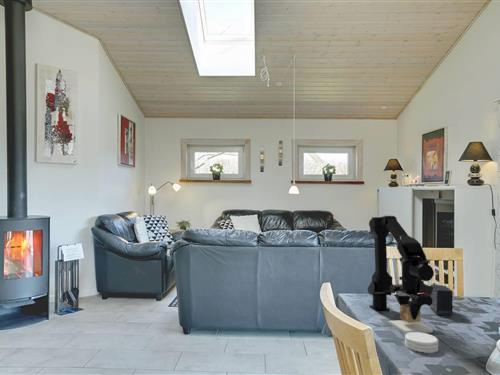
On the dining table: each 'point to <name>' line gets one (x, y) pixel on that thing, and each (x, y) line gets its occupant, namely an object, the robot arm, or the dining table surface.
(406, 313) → the oak cube
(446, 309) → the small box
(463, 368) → the dining table surface
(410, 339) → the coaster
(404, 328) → the white board
